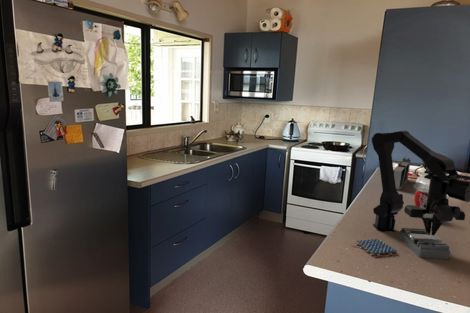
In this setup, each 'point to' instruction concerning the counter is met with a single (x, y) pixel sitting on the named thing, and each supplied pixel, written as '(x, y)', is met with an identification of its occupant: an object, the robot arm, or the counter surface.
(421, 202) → the soda can
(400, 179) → the graphics card
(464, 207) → the counter surface
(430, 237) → the gray block
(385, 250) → the woven mat
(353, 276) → the counter surface
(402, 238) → the heat sink
